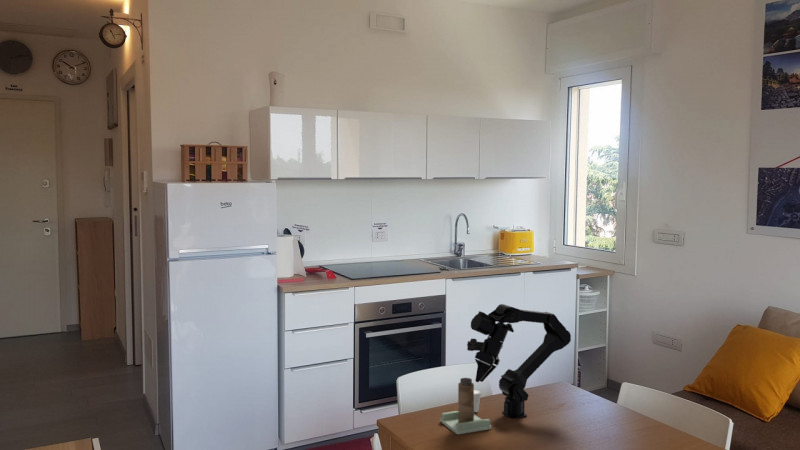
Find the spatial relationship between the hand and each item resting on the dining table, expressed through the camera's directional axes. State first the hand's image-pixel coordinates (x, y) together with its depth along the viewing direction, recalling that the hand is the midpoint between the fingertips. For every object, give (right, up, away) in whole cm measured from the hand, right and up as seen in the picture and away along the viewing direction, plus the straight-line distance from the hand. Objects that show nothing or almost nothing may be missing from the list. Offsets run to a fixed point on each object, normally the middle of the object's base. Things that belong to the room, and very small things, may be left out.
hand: (478, 381), depth 211 cm
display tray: (-5, -14, -4) cm, 15 cm away
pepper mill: (-5, -13, -4) cm, 14 cm away
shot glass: (-1, -13, +11) cm, 17 cm away
